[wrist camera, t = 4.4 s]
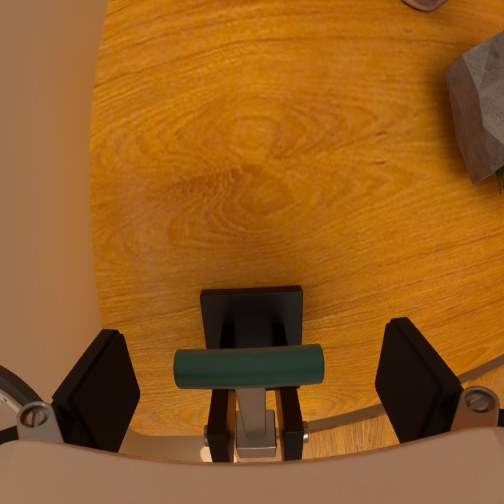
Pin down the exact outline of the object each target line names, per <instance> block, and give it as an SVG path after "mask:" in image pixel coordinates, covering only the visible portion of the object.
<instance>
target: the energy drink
mask: <svg viewBox="0 0 504 504" xmlns="http://www.w3.org/2000/svg"><path fill="white" fill-rule="evenodd" d="M403 1H404V2H406V3H407V4H409V5H410V6H412V7H414V8H417V9H419V10H423V11H432V10H435V9H436V8H438V7H439V6H441V5H442V4H444V3H445V2H447V1H448V0H403Z"/></svg>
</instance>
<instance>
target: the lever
mask: <svg viewBox="0 0 504 504" xmlns="http://www.w3.org/2000/svg"><path fill="white" fill-rule="evenodd" d="M173 370H174V379H175V383H176V385H177V387H178V388H180V389H235V391H236V396H237V400H238V405H239V409H240V411H236V450H237V452H238V455H239V457H240V458H262V457H275V455H276V448H277V443H276V428H275V412H274V410H266V388H271V387H287V386H299V385H311V384H320V383H322V382H323V379H324V356H323V351H322V348H321V346H320V344H307V345H294V346H279V347H260V348H235V349H178V350H177V351H176V353H175V356H174V365H173Z"/></svg>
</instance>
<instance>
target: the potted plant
mask: <svg viewBox="0 0 504 504" xmlns="http://www.w3.org/2000/svg"><path fill="white" fill-rule="evenodd" d="M444 74H445V79H446V83H447V88H448V93H449V98H450V104H451V110H452V116H453V122H454V128H455V134H456V140H457V145H458V147H459V149H460V152H461V154H462V157H463V159H464V162H465V164H466V167H467V170H468V172H469V175H470V178H471V180H472V183H473V184H475V183H477V182H479V181H481V180H483V179H486V178H488V177H491V176H493V175H496V178H497V182H498V186H499V192H500V195H501V180H502V183H503V189H504V31H503V32H501V33H499V34H497V35H495V36H493V37H492V38H490V39H488V40H486V41H484V42H482V43H481V44H479V45H477V46H475V47H473V48H472V49H470V50H468V51H466V52H464V53H463V54H461V55H460V56H459V57H458V58H457V59H456V60H455V61H454V62H453V63H452V64H451V66H450V67H449V68H448V69H447V70H446V71H445V72H444Z"/></svg>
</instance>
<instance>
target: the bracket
mask: <svg viewBox="0 0 504 504" xmlns="http://www.w3.org/2000/svg"><path fill="white" fill-rule="evenodd" d="M200 301H201V310H202V317H203V325H204V333H205V340H206V348H207V349H235V348H260V347H279V346H294V345H302V310H303V291H302V288H301V286H282V287H263V288H241V289H216V290H202V292H201V294H200ZM299 388H300V385H299V386H287V387H271V388H266V391H272V390H275V396H276V406H277V416H278V425H279V435H280V445H281V455H282V461H290V460H302V450H303V443H307V442H308V439H309V432H308V424H307V422H306V421H302V415H301V410H300V404H299V399H298V394H297V389H299ZM236 397H237V396H236V391H235V389H213V390H212V397H211V404H210V411H209V418H208V425H205V427H204V443H205V446H206V447H209V449H210V453H211V457H212V461H213V462H225V463H234V439H235V418H236Z"/></svg>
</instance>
